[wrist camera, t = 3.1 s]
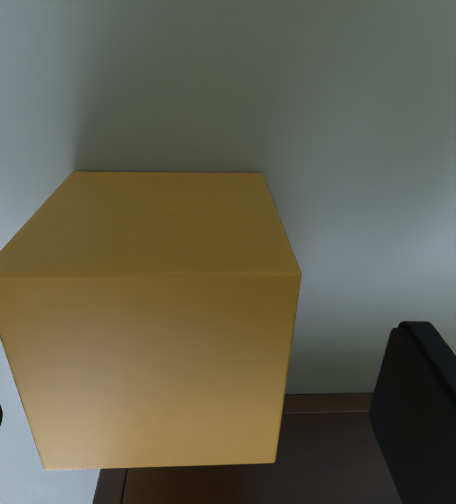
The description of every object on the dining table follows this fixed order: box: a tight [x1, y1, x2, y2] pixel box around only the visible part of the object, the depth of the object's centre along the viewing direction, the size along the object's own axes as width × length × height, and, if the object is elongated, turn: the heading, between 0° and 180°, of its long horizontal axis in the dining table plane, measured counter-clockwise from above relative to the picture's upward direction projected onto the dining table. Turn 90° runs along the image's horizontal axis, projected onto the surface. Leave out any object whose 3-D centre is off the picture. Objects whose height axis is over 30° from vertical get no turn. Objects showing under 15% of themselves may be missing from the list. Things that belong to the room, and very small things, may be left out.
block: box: [0, 171, 301, 470], centre depth 10 cm, size 5×5×5 cm
